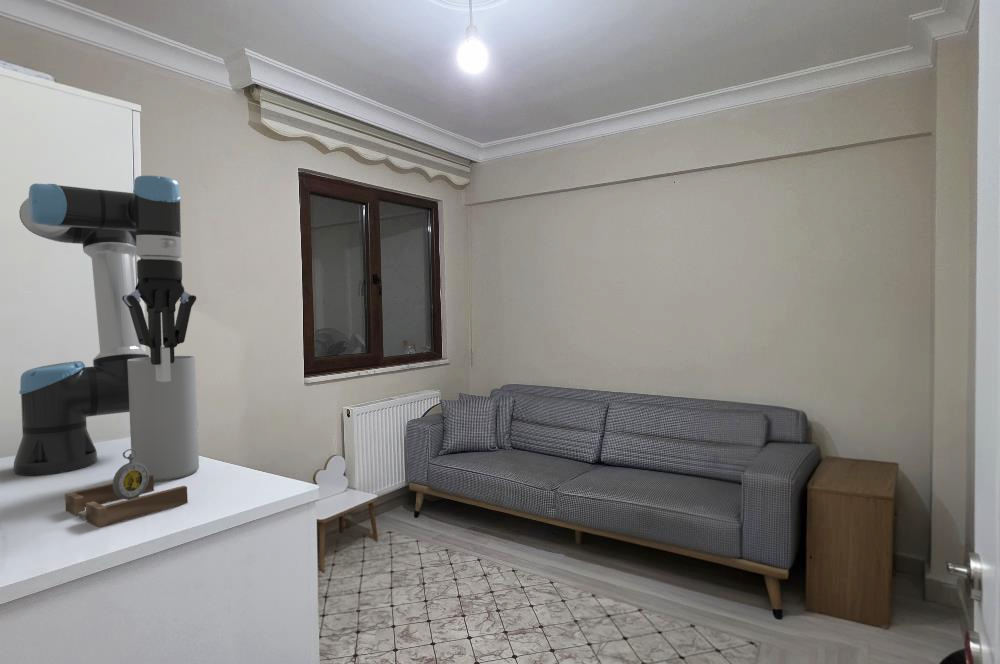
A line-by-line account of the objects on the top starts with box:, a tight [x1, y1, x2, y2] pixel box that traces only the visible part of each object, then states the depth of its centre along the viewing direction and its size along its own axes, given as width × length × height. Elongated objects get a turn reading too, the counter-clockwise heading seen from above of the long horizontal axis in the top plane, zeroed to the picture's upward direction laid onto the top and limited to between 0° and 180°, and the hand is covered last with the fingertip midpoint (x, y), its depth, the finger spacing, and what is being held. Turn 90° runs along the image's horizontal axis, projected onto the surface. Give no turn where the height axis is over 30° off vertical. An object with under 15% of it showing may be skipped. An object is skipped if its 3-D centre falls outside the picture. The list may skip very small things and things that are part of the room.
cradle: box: [64, 474, 189, 528], centre depth 105 cm, size 14×14×3 cm
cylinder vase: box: [127, 355, 200, 482], centre depth 126 cm, size 12×12×25 cm
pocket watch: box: [112, 448, 149, 500], centre depth 106 cm, size 8×8×10 cm
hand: (163, 380), depth 114 cm, fingers closed
